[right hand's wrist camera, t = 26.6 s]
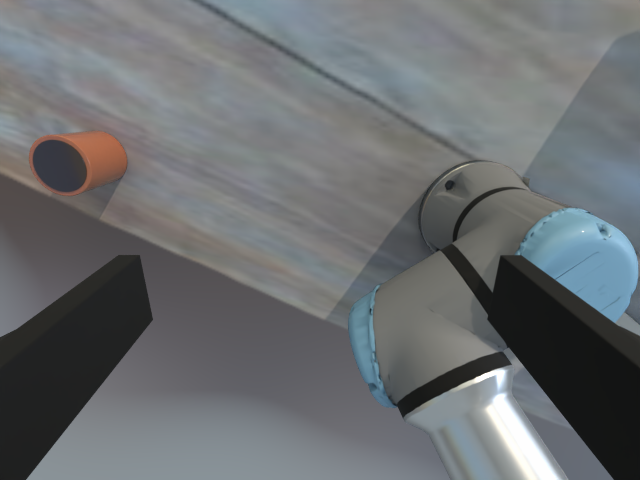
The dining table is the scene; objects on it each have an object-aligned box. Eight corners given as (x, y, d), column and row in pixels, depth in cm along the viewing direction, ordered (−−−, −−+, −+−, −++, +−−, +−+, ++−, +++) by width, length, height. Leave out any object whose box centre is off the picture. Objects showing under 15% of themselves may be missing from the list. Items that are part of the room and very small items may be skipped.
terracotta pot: (132, 182, 48) (97, 196, 41) (82, 182, 48) (38, 196, 41) (121, 130, 46) (82, 134, 38) (69, 130, 46) (19, 134, 38)
